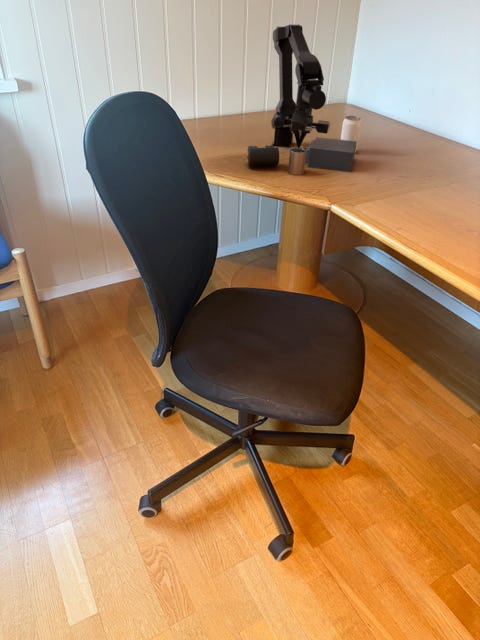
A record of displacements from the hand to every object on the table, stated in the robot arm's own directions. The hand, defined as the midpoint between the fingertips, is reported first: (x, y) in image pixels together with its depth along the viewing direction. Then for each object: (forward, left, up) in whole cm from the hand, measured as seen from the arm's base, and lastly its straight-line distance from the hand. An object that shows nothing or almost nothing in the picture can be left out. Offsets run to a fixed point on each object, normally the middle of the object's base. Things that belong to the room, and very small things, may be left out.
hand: (298, 149), depth 173 cm
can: (+16, +16, -4) cm, 23 cm away
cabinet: (+12, 0, -4) cm, 13 cm away
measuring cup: (+1, -14, -3) cm, 14 cm away
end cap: (-10, -13, -4) cm, 17 cm away
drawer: (+9, 0, -3) cm, 9 cm away
